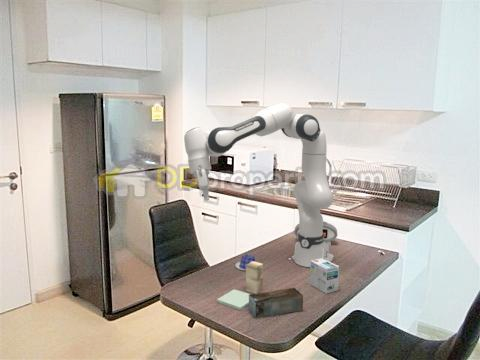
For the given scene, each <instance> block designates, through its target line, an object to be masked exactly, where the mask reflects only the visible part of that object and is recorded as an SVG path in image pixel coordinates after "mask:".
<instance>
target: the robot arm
mask: <svg viewBox="0 0 480 360" xmlns="http://www.w3.org/2000/svg"><path fill="white" fill-rule="evenodd" d="M278 131H281V132H282V134H284V135H285V136H286V137H289V138H291V139H296V140H297V139H298V140H300V141H301V143H302V149H301V150H302V151H301V172H302V174H303V176H304V177H303V178H304V180H300V181H297V182H296V183H295V184H294V186H293V188H292V189H293V190H292V193H293V195H294V197H295V200H296V205H297V211H298V217H299V221H298V222H299V223H298V224H299V233H298V237H297V241H296V242H295V243H294V244H295V246H294V253H293V255H291V259H292V260H293V261H294V263H295V264H297V265H298V266H301V267H306V268H310V267H311V260H316V259H321V258H323V259H325V260H327V261H329V262H331V263H332V261H333V259H334V254H333V253H330V245H327V244H326V243H325V242H324V237H325V236H326V234H325V233H323V221H324V218H323V215H322V212H321V211H320V210H326V209H328V208H330V207H331V206H332V204H333V202H334V195H333V192H332V190H331V189H330V186H329V181H328V176H327V139H326V138H327V136H326V133H325V132H324V131H323V130H321V127H320V123H319V120H318V119H317V118H316V117H315V116H314V115H311V114H309V113H307V114H306V113H294V111H293V108H292V107H291V105H290V104H288V103H286V102H281V103H277V104H273V105H270V106H267V107H265V108H263V109H260V110H259V111H257V112H256V113H254V114H253V115H252V116H250V117H249V118H248V119H246V120H245V121H242V122H239V123H237V124H235V125H232V126H228V127H227V126H224V127H223V126H220V127H216V128H215V127H214V129H212V130H211V131H209V130H206V129H204V128H202V127H199V126H198V127H194V128H191V129H189V130H188V131H186V132H185V134H184V136H183V137H184V138H183V141H184V149H185V153H186V155H187V159H188V160H187V161H188V162H187V163H188V168H189V173H190V174H193V177H194V178H196V179H197V184H198V188H199V189H200V191H201V192H202V195H203V200H205V201H209V200H210V196H209V190H210V182H209V174H210V171H211V170H212V165H211V161H210V157H217V158H218V157H221V156H223V155H224V154H226V153H227V152H228V151H230V150H231V149H232V147H234V145H235V144H236V143H238V142H240V141H241V140H244V139H247V138H249V137H250V136H254V135H256V136H258V137H265V136H267V135H272V134H273V133H275V132H278Z"/></svg>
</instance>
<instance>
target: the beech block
mask: <svg viewBox="0 0 480 360" xmlns="http://www.w3.org/2000/svg"><path fill="white" fill-rule="evenodd" d="M263 288H264V263H261V262H258V261H255V262H254V261H252V262H250V263H249V264H247V265H246V270H245V291H247V292H250V293H252V294H257V293H260V292H261V291H262V290H263Z"/></svg>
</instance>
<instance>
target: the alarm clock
mask: <svg viewBox="0 0 480 360" xmlns="http://www.w3.org/2000/svg"><path fill="white" fill-rule="evenodd" d="M293 232H294V235H295V236H296V238H298V233H299V223H298V224H296V226H295V227H294V230H293ZM323 233H325V234H326V236H325V237H324V242H325V243H326V244H327V245H328V246H332V244H331V243H332V241H334V240H336V238H337V237H338V229H337V228H336V227H335V226H334V225H333V224H332V223H329V222H327V221H325V220H323Z"/></svg>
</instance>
